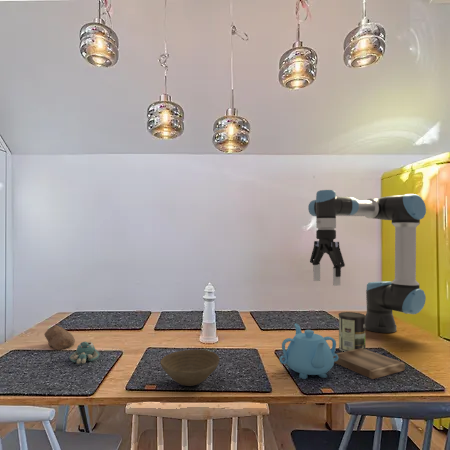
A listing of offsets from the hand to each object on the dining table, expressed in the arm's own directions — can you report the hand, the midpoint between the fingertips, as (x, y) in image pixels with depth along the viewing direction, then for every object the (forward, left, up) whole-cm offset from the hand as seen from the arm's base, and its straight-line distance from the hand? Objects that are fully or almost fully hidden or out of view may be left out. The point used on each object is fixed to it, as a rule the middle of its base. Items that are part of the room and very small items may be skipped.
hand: (326, 283), depth 142 cm
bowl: (+59, +2, -27) cm, 65 cm away
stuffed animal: (+85, -36, -28) cm, 96 cm away
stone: (+91, -58, -27) cm, 111 cm away
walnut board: (-2, +17, -27) cm, 32 cm away
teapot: (+20, +12, -27) cm, 36 cm away
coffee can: (-11, +3, -27) cm, 30 cm away
